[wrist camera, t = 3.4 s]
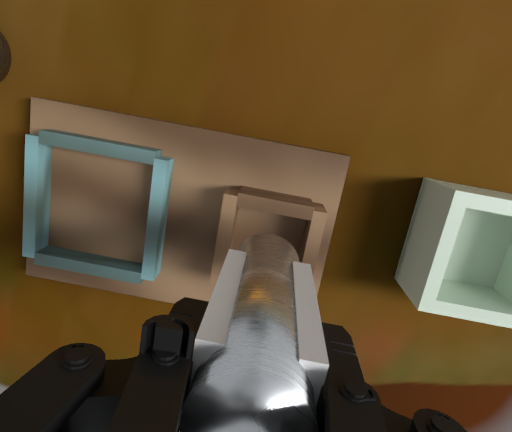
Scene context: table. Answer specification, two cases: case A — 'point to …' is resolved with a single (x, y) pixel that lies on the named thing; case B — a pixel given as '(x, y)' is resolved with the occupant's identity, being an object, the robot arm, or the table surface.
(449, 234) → the tray
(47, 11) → the table surface
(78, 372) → the robot arm
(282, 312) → the pin
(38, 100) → the mount
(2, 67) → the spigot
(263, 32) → the table surface
